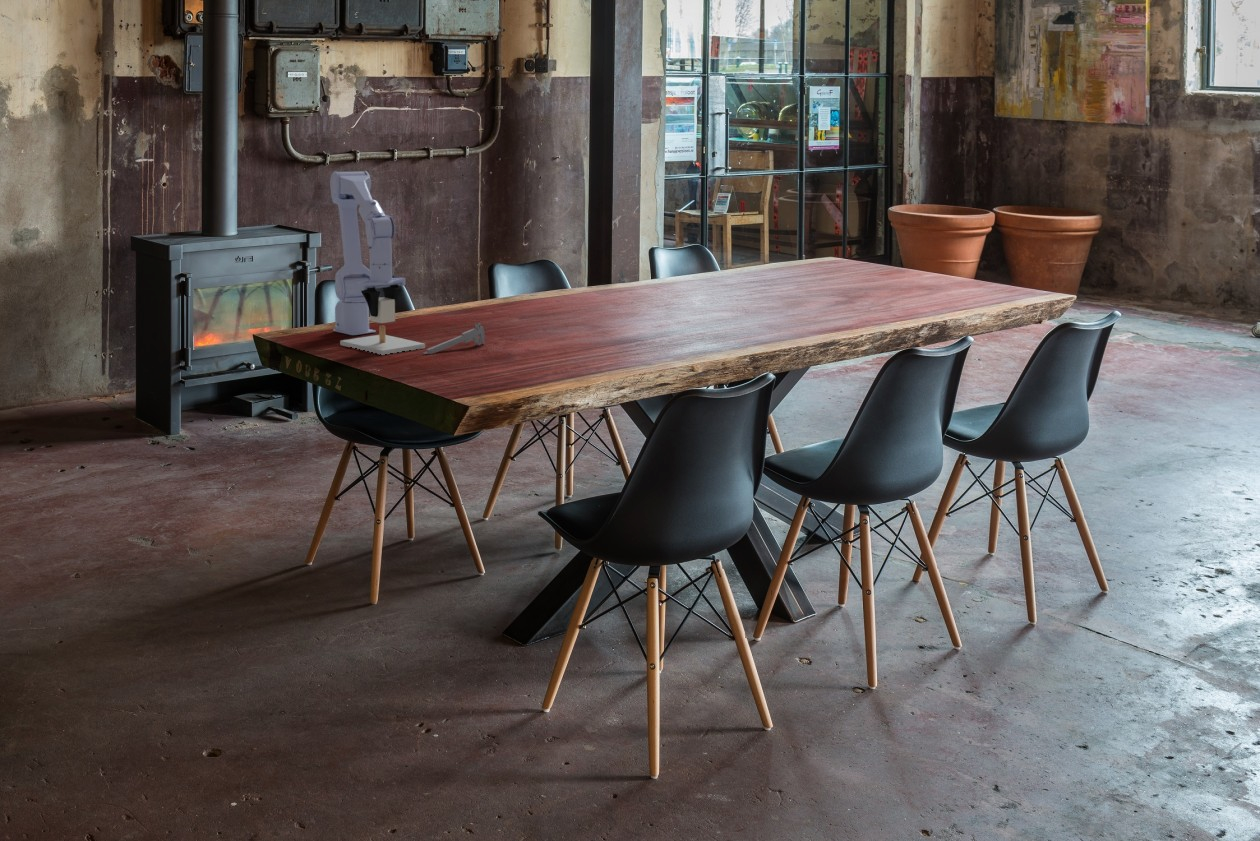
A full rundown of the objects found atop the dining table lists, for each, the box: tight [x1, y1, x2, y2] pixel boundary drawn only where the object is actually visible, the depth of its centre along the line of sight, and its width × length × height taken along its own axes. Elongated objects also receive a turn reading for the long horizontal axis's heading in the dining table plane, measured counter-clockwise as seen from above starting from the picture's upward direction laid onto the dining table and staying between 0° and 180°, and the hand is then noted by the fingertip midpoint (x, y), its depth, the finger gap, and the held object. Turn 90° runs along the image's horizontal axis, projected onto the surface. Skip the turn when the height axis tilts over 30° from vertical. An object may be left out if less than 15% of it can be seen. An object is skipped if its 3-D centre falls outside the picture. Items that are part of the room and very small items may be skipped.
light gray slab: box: [339, 325, 426, 356], centre depth 369 cm, size 18×14×6 cm
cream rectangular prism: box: [369, 296, 396, 324], centre depth 367 cm, size 5×5×6 cm
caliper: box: [423, 322, 486, 355], centre depth 368 cm, size 20×1×6 cm, turn 138°
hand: (382, 315), depth 368 cm, fingers closed on cream rectangular prism, 5 cm apart
